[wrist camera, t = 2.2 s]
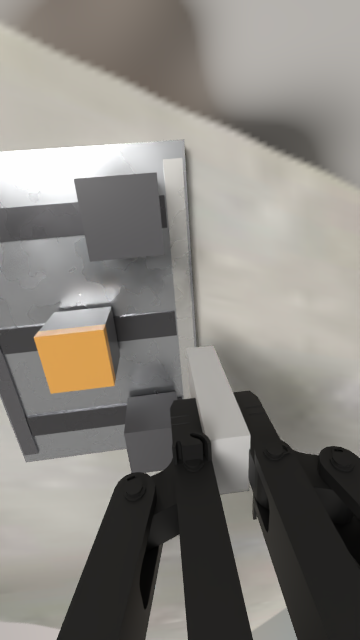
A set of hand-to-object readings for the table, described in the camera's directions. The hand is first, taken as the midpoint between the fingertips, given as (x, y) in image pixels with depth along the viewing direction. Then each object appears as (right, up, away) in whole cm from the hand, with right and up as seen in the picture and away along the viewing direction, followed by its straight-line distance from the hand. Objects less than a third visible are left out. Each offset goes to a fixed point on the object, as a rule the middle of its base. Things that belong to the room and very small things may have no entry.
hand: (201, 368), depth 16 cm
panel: (-8, +2, +7) cm, 11 cm away
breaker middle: (-8, +2, +5) cm, 10 cm away
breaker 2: (-3, -5, +9) cm, 11 cm away
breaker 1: (-5, +9, +2) cm, 11 cm away
